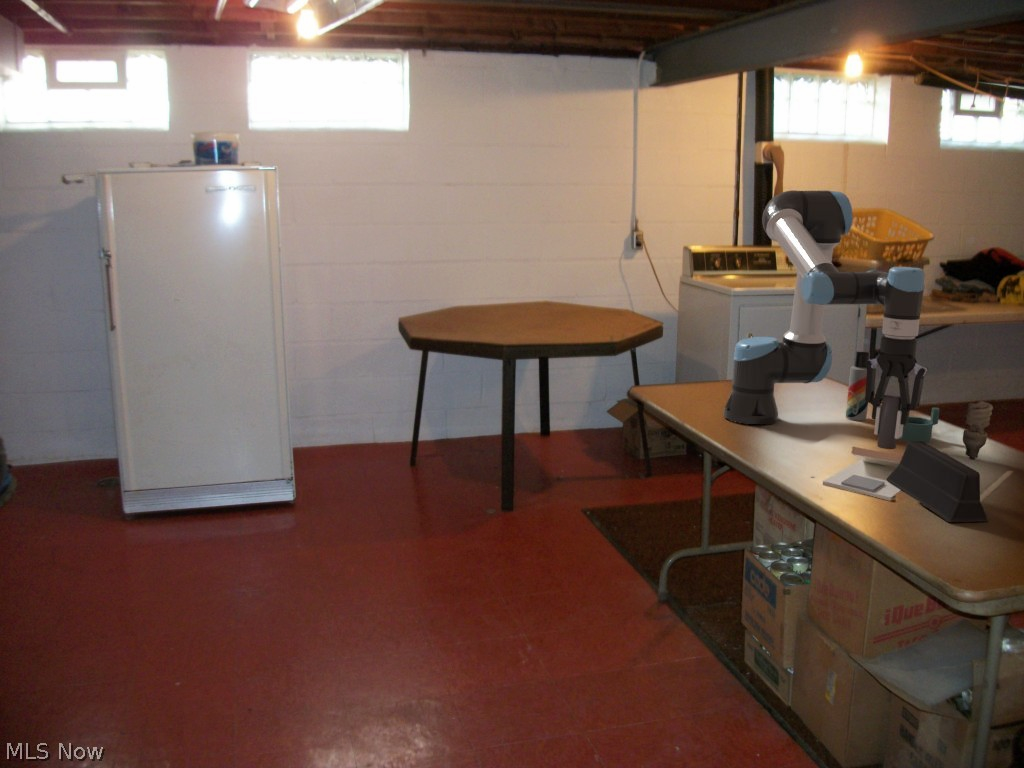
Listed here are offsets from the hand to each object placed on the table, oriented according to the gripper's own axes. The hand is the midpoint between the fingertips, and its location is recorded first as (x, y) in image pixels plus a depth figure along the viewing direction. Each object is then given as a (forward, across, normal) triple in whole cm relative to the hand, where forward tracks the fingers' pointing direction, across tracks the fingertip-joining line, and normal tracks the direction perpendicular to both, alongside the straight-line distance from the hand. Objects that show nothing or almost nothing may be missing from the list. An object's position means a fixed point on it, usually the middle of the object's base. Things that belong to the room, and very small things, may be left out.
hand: (887, 435), depth 201 cm
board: (+10, 0, -4) cm, 10 cm away
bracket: (+10, -5, +36) cm, 38 cm away
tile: (+8, 0, +5) cm, 9 cm away
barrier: (+9, +14, -11) cm, 20 cm away
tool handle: (+3, 0, 0) cm, 3 cm away
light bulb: (+10, +12, +27) cm, 31 cm away
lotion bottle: (+10, -24, +45) cm, 52 cm away
